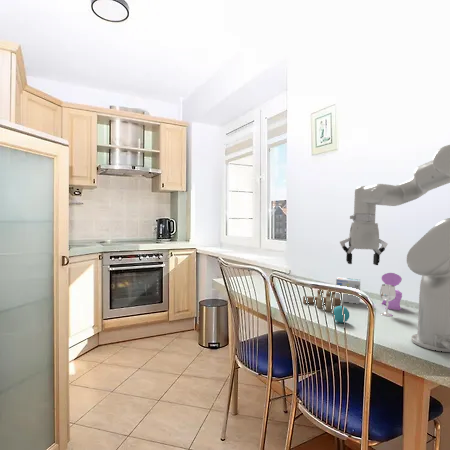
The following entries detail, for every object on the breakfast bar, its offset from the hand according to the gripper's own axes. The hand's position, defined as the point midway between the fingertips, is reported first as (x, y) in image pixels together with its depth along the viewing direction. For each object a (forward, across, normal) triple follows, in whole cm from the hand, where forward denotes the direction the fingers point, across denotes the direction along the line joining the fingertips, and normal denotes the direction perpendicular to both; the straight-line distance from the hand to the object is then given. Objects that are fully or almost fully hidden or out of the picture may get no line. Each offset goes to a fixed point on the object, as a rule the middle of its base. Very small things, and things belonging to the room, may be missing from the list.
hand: (362, 264), depth 126 cm
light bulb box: (+22, +4, +30) cm, 37 cm away
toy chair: (+22, +21, +24) cm, 38 cm away
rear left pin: (+21, -12, +15) cm, 29 cm away
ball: (+18, -8, -4) cm, 21 cm away
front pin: (+21, -9, +11) cm, 26 cm away
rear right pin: (+21, -7, +16) cm, 27 cm away
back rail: (+21, -10, +22) cm, 32 cm away
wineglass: (+22, +14, +10) cm, 28 cm away
